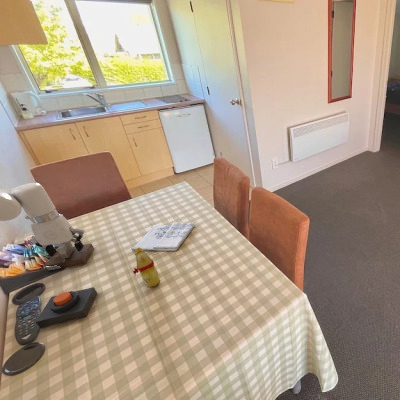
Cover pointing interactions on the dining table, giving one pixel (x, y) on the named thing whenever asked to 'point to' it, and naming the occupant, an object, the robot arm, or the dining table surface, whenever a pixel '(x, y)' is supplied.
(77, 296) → the button housing
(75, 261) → the dial panel
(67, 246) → the knob
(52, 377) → the dining table surface
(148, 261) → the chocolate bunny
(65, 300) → the button
